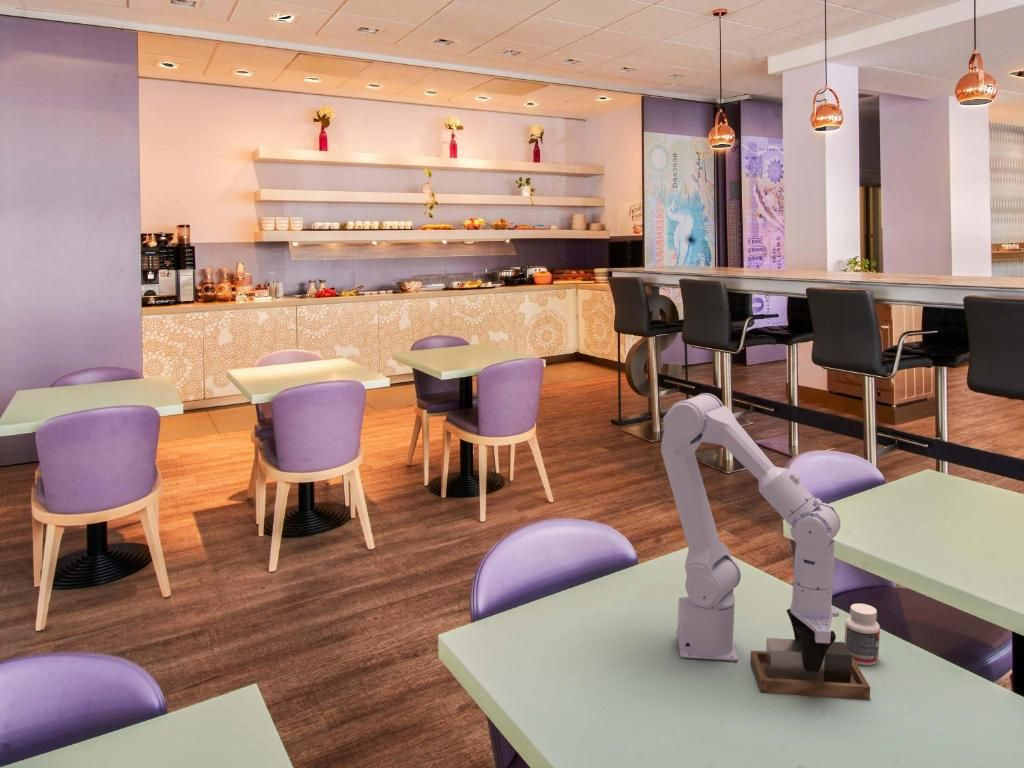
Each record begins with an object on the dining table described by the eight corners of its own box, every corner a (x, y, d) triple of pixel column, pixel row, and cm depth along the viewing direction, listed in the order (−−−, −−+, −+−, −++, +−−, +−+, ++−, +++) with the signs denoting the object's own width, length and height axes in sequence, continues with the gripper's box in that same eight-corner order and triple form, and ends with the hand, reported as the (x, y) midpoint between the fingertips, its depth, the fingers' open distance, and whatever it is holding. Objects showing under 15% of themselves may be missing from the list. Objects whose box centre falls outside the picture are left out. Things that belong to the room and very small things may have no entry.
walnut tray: (760, 692, 114) (761, 680, 114) (750, 661, 123) (750, 650, 123) (869, 699, 112) (870, 687, 112) (851, 667, 121) (852, 656, 120)
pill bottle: (881, 668, 121) (885, 617, 119) (847, 665, 122) (851, 614, 120) (872, 651, 126) (876, 602, 124) (840, 648, 127) (843, 600, 125)
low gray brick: (770, 679, 116) (771, 650, 115) (765, 666, 120) (766, 637, 119) (850, 685, 114) (852, 655, 114) (842, 671, 118) (844, 642, 118)
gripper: (854, 604, 107) (848, 690, 109) (826, 564, 121) (822, 641, 123) (803, 602, 108) (799, 687, 110) (782, 562, 122) (778, 638, 124)
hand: (808, 662), depth 117 cm, fingers closed on low gray brick, 4 cm apart
